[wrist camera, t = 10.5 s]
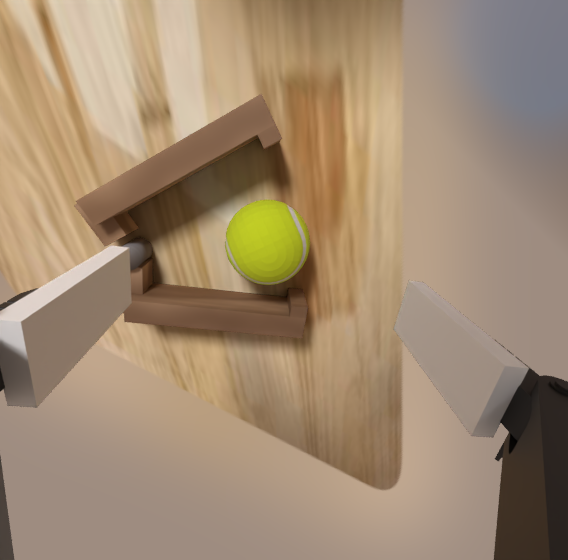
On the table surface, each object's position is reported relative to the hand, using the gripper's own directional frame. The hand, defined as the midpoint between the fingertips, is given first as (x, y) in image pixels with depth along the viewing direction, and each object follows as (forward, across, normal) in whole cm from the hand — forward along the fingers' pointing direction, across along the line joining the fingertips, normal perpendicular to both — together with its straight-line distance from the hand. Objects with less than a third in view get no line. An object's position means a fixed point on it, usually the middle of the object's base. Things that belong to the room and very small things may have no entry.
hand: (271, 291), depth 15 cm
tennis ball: (+14, 0, -1) cm, 14 cm away
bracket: (+14, -7, +3) cm, 16 cm away
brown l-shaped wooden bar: (+14, -4, -5) cm, 15 cm away
